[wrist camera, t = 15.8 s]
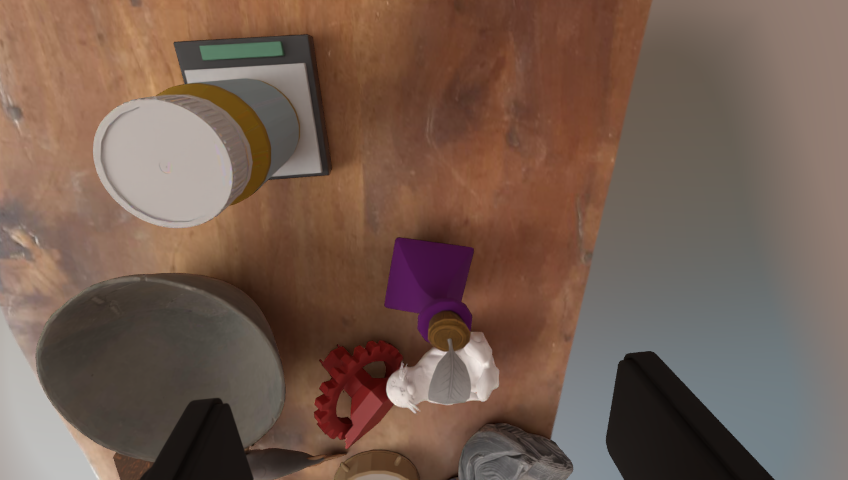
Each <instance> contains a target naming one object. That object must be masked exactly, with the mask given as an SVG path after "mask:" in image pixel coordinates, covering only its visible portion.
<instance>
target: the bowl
mask: <svg viewBox="0 0 848 480" xmlns="http://www.w3.org/2000/svg"><path fill="white" fill-rule="evenodd" d="M36 367H37V374H38V377H39V380H40V383H41V385H42V387H43V390H44V392H45V393H46V395H47V397H48V399H49V400H50V402H51V403H52V405H53V406H54V407H55V408H56V409H57V411H58V412H59V413H60V414H61V415H62V416H63V417H64V418H65V419H66V420H67V421H68V422H69V423H70V424H71V425H73V426H74V427H75V428H76V429H77V430H79V431H80V432H81V433H82V434H84V435H85V436H87V437H88V438H90V439H91V440H93V441H94V442H96V443H98V444H99V445H101V446H103V447H105V448H108V449H110V450H112V451H116V452H117V453H119V454H122V455H126V456H129V457H133V458H136V459H142V460H145V461H150V462H155V460H156V458H157V457H158V455H159V453H160V451H161V450H162V448H163V446H164V445H165V443H166V441H167V439H168V438H169V436H170V434H171V433H172V431H173V429H174V427H175V426H176V424H177V422H178V421H179V419H180V417H181V415H182V414H183V412H184V410H185V409H186V407H187V405H188V404H189V403H190V402H191V401H192V400H200V399H209V398H220V399H221V400H222V402H223V404H224V403H228V404H229V405H230V407H231V410H232V413H233V417H234V420H235V423H236V426H237V429H238V432H239V435H240V438H241V441H242V444H243V447H244V449H246V448H248V447H249V446H251V445H252V444H254V443H255V442H256V441H258V440H259V439H260V438H261V437H262V436H263V435H264V434H265V433H267V432H268V431H269V429H270V428H271V427H272V426H273V424H274V423H275V422H276V421H277V419H278V418H279V416H280V414H281V412H282V409H283V406H284V402H285V393H286V389H285V379H284V371H283V366H282V362H281V359H280V355H279V352H278V348H277V345H276V342H275V339H274V336H273V333H272V331H271V328H270V326H269V324H268V322H267V320H266V318H265V316H264V315H263V313H262V311H261V310H260V308H259V307H258V305H257V304H256V303H255V302H254V301H253V300H252V299H251V298H250V297H249V296H248V295H247V294H246V293H244V292H243V291H241V290H240V289H238V288H237V287H235V286H233V285H231V284H229V283H227V282H225V281H222V280H219V279H215V278H211V277H207V276H203V275H196V274H186V273H160V274H138V275H129V276H123V277H118V278H114V279H110V280H107V281H103V282H100V283H97V284H95V285H92V286H90V287H88V288H87V289H85V290H83V291H82V292H81V293H79V294H78V295H77V296H75V297H73V298H71V299H70V300H69V301H67V302H66V303H65V304H64V305H63V306H62V307H61V308H59V309H58V310H57V311H56V312H55V313H53V314H52V316H51V317H50V318H49V320H48V321H47V322H46V325H45V327H44V329H43V332H42V334H41V336H40V339H39V341H38V344H37V348H36Z"/></svg>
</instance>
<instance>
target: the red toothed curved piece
mask: <svg viewBox="0 0 848 480" xmlns="http://www.w3.org/2000/svg"><path fill="white" fill-rule="evenodd" d="M337 346H338V348H337V349H334V350H332V351H331V352H330V353H329V355H328V356H327V358H326V359H325V360H324V362H323V361H322V360H321V359H320V360H319V361H320V362H321V363H322V365H323V367H324V368H325V369H326V370H327V371H328V372H329V374H330V376H331V377H332V378H331V380H330V381H326V382H322V384H321V386H320V388H319V389H320V390H321V391H322V392H323V393H324V394H323V395H321V396H319V397H317V398H316V400H315V405H316V407H317V408H318V410H317V411H315V412H314V417H315V419H316V420H317V421H318V423H317V425H318V426H319V427H320V429H321V430H322V431H323V432H324V433H325V434H327V435H328V436H329V437H330V438H332V439H335V438H336V437H338V438H339V439H340V440H343V439H346V438H347V439H346V441H345V442H346V444H347V445H346V446H345V448H346V449H348V448H349V447H350V446H351V445H353V444H354V443H355V442H356V441H357V440H359V439H360V438H361V437H362V436H363V435H365V434H366V433H367V432H368V431H369V430H371V429H372V428H373V427H374V426H375V425H377V424H378V423H379V422H380V421H381V420H382V418H383V417H384V416H385V415H386V413H387V412H388V411H389V410H390V408H391V407H392V406H393V405H394V404H393V403H392V402H391V401H390V399H389V398H388V396H387V392H386V385H387V381H388V379H389V377H390V376H391V375H392V374H393V373H394V372H395V371H397V370H398V369H400V368H401V364H402V366H403V368H404V364H403V363H401V361H402V360H403V356H402V355H401V354H400V353H399V352H398V351H399V350H398V349H396V348H395V347H394V346H392V345H391V344H390V343H389V344H387V343H386V342H385V341H382V340H379V342H378V343H375V342H374V341H369V342H367V345H366V347H365V349H364V348H363V347H362V346H360V345H359V346H357V347H355V348H354V353H353V356H352V355H350V353H349V352H348V351H347V350H346V349H345V348H344V347H343V346H342V347H340V346H339V345H338V344H337ZM375 361H384V363H385V367H386V373H385V378H372V377H371V375H369V374H368V373H367V372H366V371H365V370H364V368H363V367H364V366H365V365H367V364H369V363H372V362H375ZM343 389H344V390H345V391H346V392H347V393H348V394H349V396H350V397H351V398H352V400H351V417H350V418H351V420H350V419H349V418H348V417H344V418H341V417H337V414H336V406H337V401H338V398H339V395H340V393H341V391H342V390H343ZM343 392H344V391H343Z"/></svg>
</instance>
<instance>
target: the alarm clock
mask: <svg viewBox="0 0 848 480" xmlns="http://www.w3.org/2000/svg"><path fill="white" fill-rule="evenodd" d="M340 465H341V466H340V467H339V468H338V470H337V472H336V475H335V477H334V480H419V476H418V473H417V470H416V468H415V467H414V465H413V464H412V463H411V462H410V461H409V460H408V459H406V458H405V457H403V456H401V455H400V454H398V453H394V452H390V451H386V450H371V451H367V452H363V453H359V454H357V455H355V456H353V457H351V458H350V459H348V460H346V461H345V462H344V463H343V462H342V463H341V464H340Z"/></svg>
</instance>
